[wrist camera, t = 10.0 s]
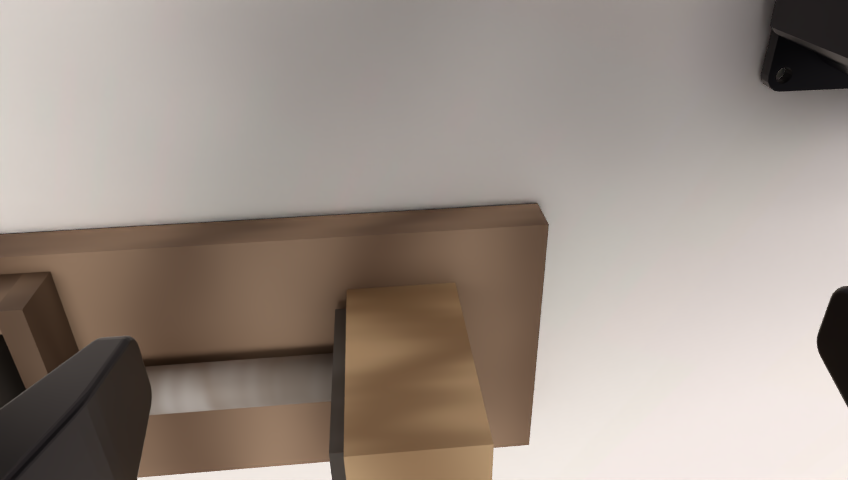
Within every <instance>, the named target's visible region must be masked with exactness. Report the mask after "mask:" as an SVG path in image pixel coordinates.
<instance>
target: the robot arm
mask: <svg viewBox="0 0 848 480" xmlns="http://www.w3.org/2000/svg"><path fill="white" fill-rule="evenodd" d="M770 25H771V28H772V31H771V35H770V39H769V44H768V48H767V52H766V56H765V60H764V64H763V68H762V72H761V80H762V82H763V84H764V85H766V86H767V87H769V88H770V89H772V90H774V91H801V90H823V89H844V88H848V0H776V2H775V7H774V11H773V15H772V19H771V23H770ZM782 68H785V72H784V74H783V76H782V77H781V78H779V79H777V80H776V75H777V73H778V71H779V70H781V69H782ZM817 348H818V351H819V354H820V356H821V358H822V360H823V362H824V364H825V366H826V368H827V369H828V371H829V373H830V375H831V377H832V379H833V381H834V382H835V384H836V386H837V388H838V390H839V392H840V394H841V396H842V397H843V399H844V401H845V403H846V405H847V407H848V286H843V287H840V288H838V289H837V290H836V291H835V292H834V293H833V294H832V296H831V298H830V301H829V304H828V307H827V310H826V312H825V315H824V318H823V321H822V324H821V326H820V329H819V332H818V336H817ZM151 403H152V390H151V384H150V381H149V378H148V374H147V371H146V368H145V365H144V362H143V358H142V355H141V352H140V349H139V346H138V343H137V342H136V340H135V339H134V338H133V337H131V336H114V337H102V338H98V339H96V340H94V341H93V342H91V343H90V344H88V345H87V346H86V347H84V348H83V349H82V350H80V351H79V352H77V353H76V354H75V355H73V356H72V357H71V358H69V359H68V360H66V361H65V362H64V363H62V364H61V365H60V366H58V367H57V368H55V369H54V370H53V371H51V372H50V373H49V374H47V375H46V376H44V377H43V378H42V379H40V380H39V381H37V382H36V383H35V384H33V385H32V386H31V387H29V388H28V389H26V390H25V391H24V392H22V393H21V394H20V395H18V396H17V397H15V398H14V399H13V400H11V401H10V402H9V403H7V404H6V405H4V406H3V407H2V408H0V480H137V477H138V472H139V467H140V462H141V456H142V451H143V446H144V441H145V435H146V430H147V425H148V420H149V414H150V409H151Z"/></svg>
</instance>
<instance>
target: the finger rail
mask: <svg viewBox="0 0 848 480" xmlns="http://www.w3.org/2000/svg"><path fill="white" fill-rule="evenodd" d="M548 226H549V224H548V222H547V220H546V219H545V217H544V215H543V213H542V211H541V209H540V207H539V205H538V203H535V204H517V205H500V206H483V207H465V208H448V209H431V210H413V211H396V212H379V213H361V214H344V215H326V216H309V217H292V218H274V219H257V220H240V221H222V222H205V223H188V224H170V225H153V226H135V227H118V228H101V229H83V230H66V231H49V232H31V233H14V234H0V334H2V335H3V337H4V339H5V342H6V344H7V346H8V349H9V351H10V353H11V356H12V358H13V360H14V363H15V365H16V367H17V370H18V372H19V374H20V376H21V379H22V381H23V383H24V386H25V388H26V389H28V388H29V387H31V386H32V385H33V384H35V383H36V382H37V381H39V380H40V379H42V378H43V377H44V376H46V375H47V374H49V373H50V372H51V371H53V370H54V369H55V368H57V367H58V366H60V365H61V364H62V363H64V362H65V361H66V360H68V359H69V358H71V357H72V356H73V355H75V354H76V353H77V352H79V351H80V350H82V349H83V348H84V347H86V346H87V345H88V344H90V343H91V342H93V341H94V340H96V339H98V338H102V337H114V336H131V337H133V338H134V339H135V340H136V342H137V343H138V346H139V349H140V352H141V355H142V358H143V362H144V365H145V368H146V371H147V374H148V378H149V381H150V384H151V390H152V403H151V409H150V414H149V420H148V425H147V430H146V435H145V441H144V446H143V451H142V456H141V462H140V467H139V472H138V477H149V476H161V475H173V474H185V473H197V472H209V471H221V470H233V469H245V468H257V467H269V466H281V465H293V464H305V463H317V462H329V461H330V466H331V474H332V480H492V466H493V448H496V447H508V446H520V445H529V438H530V426H531V415H532V404H533V393H534V382H535V371H536V360H537V349H538V338H539V326H540V315H541V304H542V293H543V282H544V271H545V260H546V249H547V238H548Z"/></svg>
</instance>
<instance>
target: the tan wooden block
mask: <svg viewBox="0 0 848 480" xmlns="http://www.w3.org/2000/svg"><path fill="white" fill-rule="evenodd" d="M25 390H26V388H25V386H24V383H23V381H22V379H21V376H20V374H19V372H18V370H17V367H16V365H15V363H14V360H13V358H12V356H11V353H10V351H9V349H8V346H7V344H6V342H5V339H4V337H3V335H2V334H0V408H2V407H3V406H4V405H6V404H7V403H9V402H10V401H11V400H13V399H14V398H15V397H17V396H18V395H20V394H21V393H22V392H24V391H25Z"/></svg>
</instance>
